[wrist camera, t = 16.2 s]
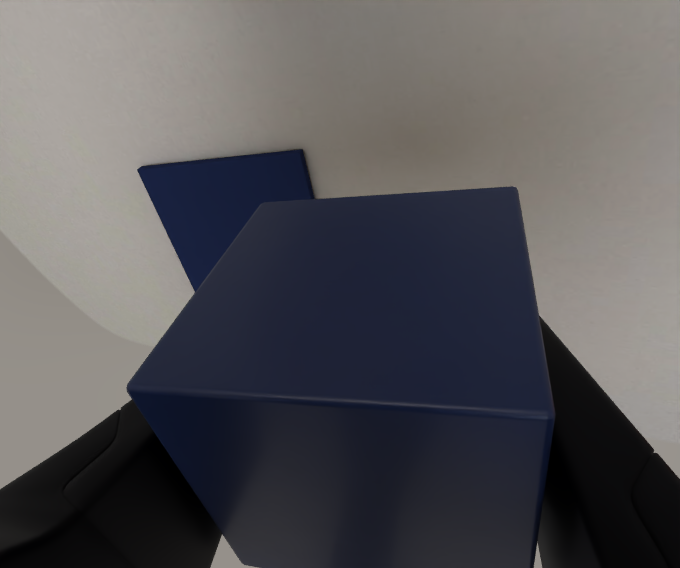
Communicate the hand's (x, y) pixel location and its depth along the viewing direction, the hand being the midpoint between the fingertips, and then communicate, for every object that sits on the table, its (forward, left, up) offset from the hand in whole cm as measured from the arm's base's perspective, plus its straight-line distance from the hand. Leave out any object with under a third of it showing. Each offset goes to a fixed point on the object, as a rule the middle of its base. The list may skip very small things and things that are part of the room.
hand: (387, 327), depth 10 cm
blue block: (0, 0, -1) cm, 1 cm away
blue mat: (-4, +9, -11) cm, 15 cm away
